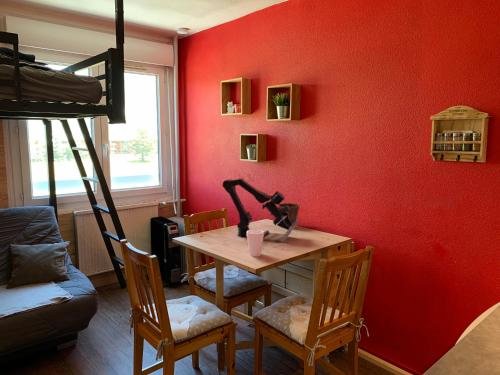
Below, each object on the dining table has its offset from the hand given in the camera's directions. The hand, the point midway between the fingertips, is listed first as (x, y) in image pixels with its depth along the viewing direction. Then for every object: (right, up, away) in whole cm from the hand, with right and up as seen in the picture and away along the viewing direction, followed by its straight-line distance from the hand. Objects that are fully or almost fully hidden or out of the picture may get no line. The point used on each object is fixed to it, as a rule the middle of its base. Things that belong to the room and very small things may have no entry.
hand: (290, 227), depth 236 cm
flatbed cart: (-11, -7, +5) cm, 14 cm away
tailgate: (-4, -6, +2) cm, 8 cm away
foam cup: (-22, -12, -28) cm, 38 cm away
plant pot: (+2, -3, +36) cm, 36 cm away
